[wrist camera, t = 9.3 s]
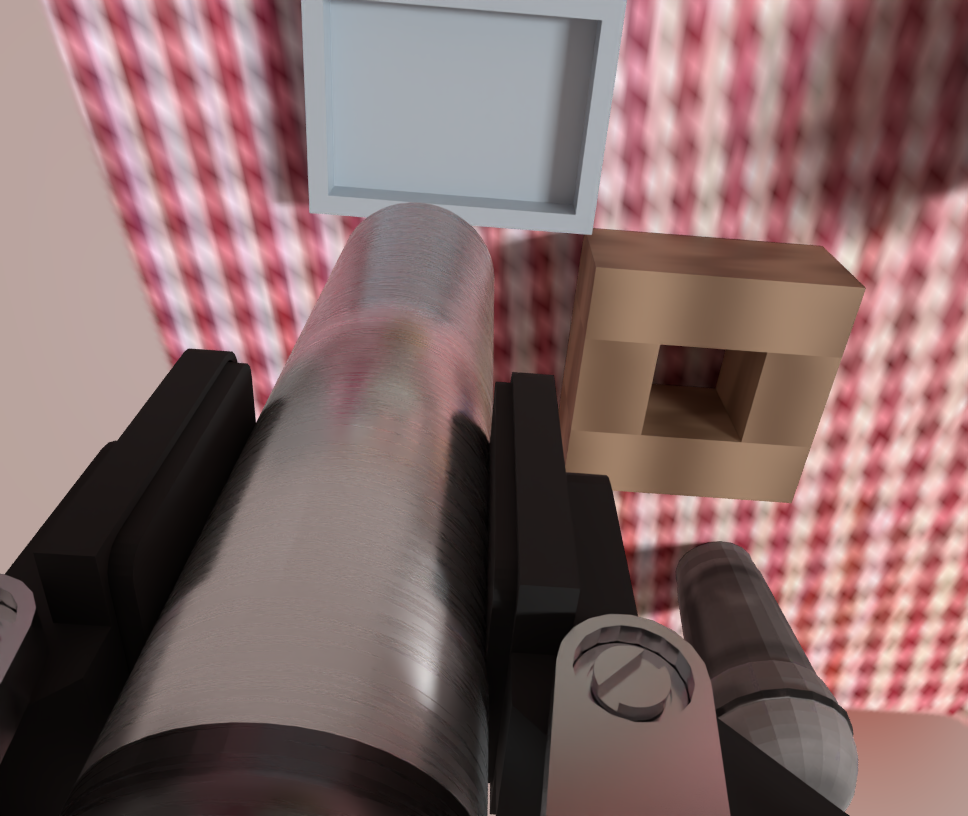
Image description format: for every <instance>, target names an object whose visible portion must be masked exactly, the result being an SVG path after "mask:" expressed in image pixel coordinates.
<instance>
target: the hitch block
mask: <svg viewBox="0 0 968 816" xmlns="http://www.w3.org/2000/svg"><path fill="white" fill-rule="evenodd" d="M865 289H866V288H865V287H864V286H863V285H862V284H861V283H860V282H859V281H858V280H857V279H856V278H855V277H854V276H853V275H852V274H851V273H850V272H849V271H848V270H847V269H846V268H845V267H844V266H843V265H842V264H841V263H839V262H838V261H837V260H836V259H835V258H834V257H833V256H832V255H831V254H830V253H829V252H828V251H827V250H826V249H825V248H824V247H823V246H813V245H800V244H787V243H775V242H762V241H749V240H736V239H723V238H711V237H698V236H685V235H672V234H660V233H647V232H634V231H621V230H608V229H596V228H593V231H592V235H587V234H584V237H583V244H582V251H581V258H580V264H579V271H578V278H577V285H576V292H575V299H574V306H573V313H572V320H571V327H570V334H569V341H568V348H567V355H566V362H565V369H564V376H563V383H562V390H561V397H560V404H559V411H558V412H559V421H560V429H561V437H562V445H563V453H564V461H565V469H566V472H571V473H585V474H599V475H607V476H608V477H609V480H610V483H611V487H612V490H613V491H627V492H642V493H656V494H670V495H684V496H699V497H713V498H727V499H741V500H755V501H770V502H784V503H792V500H793V497H794V494H795V491H796V488H797V486H798V483H799V480H800V477H801V474H802V471H803V468H804V465H805V462H806V460H807V457H808V454H809V451H810V448H811V445H812V442H813V439H814V436H815V434H816V431H817V428H818V425H819V422H820V419H821V416H822V413H823V410H824V408H825V405H826V402H827V399H828V396H829V393H830V390H831V387H832V384H833V382H834V379H835V376H836V373H837V370H838V367H839V364H840V361H841V358H842V356H843V353H844V350H845V347H846V344H847V341H848V338H849V335H850V332H851V330H852V327H853V324H854V321H855V318H856V315H857V312H858V309H859V306H860V304H861V301H862V298H863V295H864V292H865ZM660 344H661V345H675V346H688V347H702V348H715V349H726V350H725V354H724V358H723V361H722V365H721V369H720V373H719V377H718V381H717V385H716V388H704V387H691V386H677V385H664V384H652V381H653V376H654V371H655V367H656V362H657V357H658V352H659V348H660Z"/></svg>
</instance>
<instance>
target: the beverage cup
mask: <svg viewBox="0 0 968 816" xmlns="http://www.w3.org/2000/svg"><path fill="white" fill-rule="evenodd" d="M676 580H677V584H678V603H679V609H680V616H681V622H682V629H683V636H684V640H685V641H687V642H688V643H689V644H690V645H692V647H693V648H694V649H695V651H696V652H697V653H698V655H699V656H700V658H701V659H702V660H703V662H704V663H705V666H706V669H707V672H708V674H709V677H710V680H711V684H712V691H713V698H714V705H715V712H716V717H717V718H719V719H720V720H721V721H723V722H724V723H725V724H727V725H728V726H730V727H731V728H732V729H734V730H735V731H736V732H738V733H739V734H740V735H742V736H743V737H744V738H746V739H747V740H748V741H750V742H751V743H752V744H754V745H755V746H756V747H758V748H759V749H760V750H762V751H763V752H764V753H766V754H767V755H768V756H770V757H771V758H773V759H774V760H775V761H777V762H778V763H779V764H781V765H782V766H783V767H785V768H786V769H787V770H789V771H790V772H791V773H793V774H794V775H795V776H797V777H798V778H799V779H801V780H802V781H803V782H805V783H806V784H807V785H809V786H810V787H812V788H813V789H814V790H816V791H817V792H818V793H820V794H821V795H822V796H824V797H825V798H826V799H828V800H829V801H830V802H832V803H833V804H834V805H836V806H837V807H838V808H840V809H841V810H842V811H844V812H845V811H846V809H847V808H848V806H849V805H850V803H851V800H852V798H853V796H854V792H855V787H856V781H857V775H858V755H857V749H856V745H855V742H854V739H853V728H852V724H851V722H850V719H849V717H848V715H847V712H846V711H845V710H844V709H843V708H842V707H841V706H840V705H838V703H837V701H836V699H835V697H834V696H833V694H832V693H831V692H830V690H829V689H828V687H827V686H826V685H825V683H824V682H823V681H822V680H821V679H820V678H819V677H818V676H817V675H816V673H815V671H814V669H813V667H812V666H811V664H810V662H809V660H808V658H807V656H806V655H805V653H804V651H803V649H802V647H801V645H800V644H799V642H798V640H797V638H796V636H795V634H794V633H793V631H792V629H791V627H790V625H789V624H788V622H787V620H786V618H785V616H784V614H783V613H782V611H781V609H780V607H779V605H778V603H777V602H776V600H775V598H774V596H773V594H772V592H771V591H770V589H769V587H768V585H767V583H766V582H765V580H764V578H763V576H762V574H761V572H760V571H759V570H758V569H757V568H756V566H755V564H754V563H753V562H752V560H751V557H750V555H749V554H748V553H747V552H746V551H745V550H744V549H743V548H742V547H739V546H737V545H735V544H733V543H727V542H711V543H706V544H703V545H700V546H697V547H695V548H694V549H692V550H691V551H689V552H688V553H686V554H685V555H684V557H683V558H682V559H681V560H680V561H679V564H678V566H677V569H676Z"/></svg>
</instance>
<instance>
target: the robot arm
mask: <svg viewBox="0 0 968 816" xmlns="http://www.w3.org/2000/svg"><path fill="white" fill-rule="evenodd" d="M255 424H256V419H255V408H254V397H253V385H252V375H251V369H250V366H249V365H248V364H246V363H237V359H236V356H235V354H234V353H233V352H229V351H216V350H202V349H187V350H186V351H185V352H184V353H183V354H182V356H181V357H180V358H179V360H178V361H177V362H176V364H175V365H174V366H173V368H172V369H171V370H170V372H169V373H168V374H167V376H166V377H165V378H164V380H163V381H162V382H161V384H160V385H159V386H158V388H157V389H156V390H155V391H154V393H153V394H152V395H151V397H150V398H149V399H148V401H147V402H146V403H145V405H144V406H143V407H142V409H141V410H140V411H139V413H138V414H137V415H136V417H135V418H134V419H133V421H132V422H131V423H130V425H129V426H128V427H127V429H126V430H125V431H124V432H123V434H122V435H121V436H120V438H119V439H118V440H117V441H113V442H109V443H108V444H107V445H105V446H104V447H103V448H102V449H101V450H100V452H99V453H98V455H97V456H96V457H95V458H94V460H93V461H92V462H91V463H90V465H89V466H88V467H87V469H86V470H85V471H84V473H83V474H82V475H81V476H80V478H79V479H78V480H77V481H76V483H75V484H74V485H73V487H72V488H71V489H70V491H69V492H68V493H67V495H66V496H65V497H64V499H63V500H62V501H61V502H60V503H59V505H58V506H57V507H56V509H55V510H54V511H53V512H52V514H51V515H50V516H49V518H48V519H47V520H46V522H45V523H44V524H43V526H42V527H41V528H40V529H39V531H38V532H37V533H36V535H35V536H34V537H33V538H32V540H31V541H30V542H29V544H28V545H27V546H26V547H25V549H24V550H23V551H22V553H21V554H20V555H19V556H18V558H17V559H16V560H15V562H14V563H13V564H12V566H11V567H10V568H9V569H8V571H7V572H6V573H5V574H0V816H59V815H60V813H61V811H62V809H63V807H64V805H65V803H66V801H67V799H68V797H69V795H70V793H71V791H72V789H73V787H74V785H75V783H76V781H77V779H78V777H79V775H80V773H81V771H82V769H83V767H84V765H85V763H86V761H87V759H88V757H89V755H90V753H91V751H92V749H93V747H94V745H95V743H96V741H97V739H98V737H99V735H100V734H101V732H102V730H103V728H104V726H105V724H106V722H107V720H108V718H109V716H110V714H111V712H112V710H113V708H114V706H115V704H116V702H117V700H118V698H119V696H120V694H121V692H122V690H123V688H124V686H125V684H126V682H127V680H128V678H129V676H130V674H131V672H132V670H133V668H134V666H135V664H136V662H137V660H138V658H139V656H140V654H141V652H142V650H143V648H144V646H145V644H146V642H147V640H148V638H149V636H150V634H151V632H152V630H153V628H154V626H155V624H156V622H157V620H158V618H159V616H160V614H161V612H162V610H163V608H164V606H165V604H166V602H167V600H168V598H169V596H170V594H171V592H172V590H173V588H174V586H175V584H176V582H177V580H178V578H179V576H180V574H181V572H182V570H183V568H184V566H185V564H186V562H187V560H188V558H189V556H190V554H191V552H192V550H193V548H194V546H195V544H196V542H197V540H198V538H199V536H200V534H201V532H202V530H203V528H204V526H205V524H206V522H207V520H208V518H209V516H210V514H211V512H212V510H213V508H214V506H215V504H216V502H217V500H218V498H219V496H220V494H221V492H222V490H223V488H224V486H225V484H226V482H227V480H228V478H229V476H230V474H231V472H232V470H233V468H234V466H235V464H236V462H237V460H238V458H239V456H240V454H241V452H242V450H243V448H244V446H245V444H246V442H247V440H248V438H249V436H250V434H251V432H252V430H253V428H254V426H255ZM485 668H486V672H487V677H488V683H489V728H488V783H490V814H495V815H496V816H849V815H848V814H846V813H845V812H844V811H842V810H841V809H840V808H838V807H837V806H836V805H834V804H833V803H832V802H830V801H829V800H828V799H826V798H825V797H824V796H822V795H821V794H820V793H818V792H817V791H816V790H814V789H813V788H812V787H810V786H809V785H807V784H806V783H805V782H803V781H802V780H801V779H799V778H798V777H797V776H795V775H794V774H793V773H791V772H790V771H789V770H787V769H786V768H785V767H783V766H782V765H781V764H779V763H778V762H777V761H775V760H774V759H773V758H771V757H770V756H768V755H767V754H766V753H764V752H763V751H762V750H760V749H759V748H758V747H756V746H755V745H754V744H752V743H751V742H750V741H748V740H747V739H746V738H744V737H743V736H742V735H740V734H739V733H738V732H736V731H735V730H734V729H732V728H731V727H730V726H728V725H727V724H725V723H724V722H723V721H721V720H720V719H719V718H717V717H716V712H715V705H714V698H713V691H712V684H711V680H710V677H709V674H708V672H707V669H706V666H705V663H704V662H703V660H702V659H701V658H700V656H699V655H698V653H697V652H696V651H695V649H694V648H693V647H692V645H690V644H689V643H688V642H687V641H685V640H684V639H683V638H682V637H681V636H679V635H678V634H677V633H676V632H675V631H673V630H671V629H669V628H667V627H665V626H663V625H661V624H659V623H657V622H655V621H653V620H649V619H645V618H641V617H638V614H637V610H636V605H635V600H634V595H633V590H632V585H631V580H630V575H629V570H628V565H627V560H626V555H625V551H624V546H623V541H622V536H621V531H620V526H619V521H618V516H617V511H616V506H615V501H614V496H613V491H612V487H611V483H610V480H609V477H608V476H607V475H599V474H585V473H571V472H566V469H565V461H564V453H563V445H562V437H561V429H560V421H559V412H558V404H557V396H556V388H555V380H554V375H544V374H531V373H517V372H512V377H511V383H507V382H496V383H495V392H494V402H493V413H492V424H491V435H490V452H489V505H488V558H487V611H486V664H485Z"/></svg>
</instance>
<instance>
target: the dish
mask: <svg viewBox="0 0 968 816" xmlns="http://www.w3.org/2000/svg"><path fill="white" fill-rule="evenodd" d="M626 3H627V0H301V12H302V37H303V62H304V87H305V111H306V136H307V161H308V186H309V211H310V213H317V214H330V215H343V216H356V217H368V216H370V215H371V214H373V213H375V212H376V211H378V210H380V209H383V208H385V207H388V206H391V205H395V204H399V203H408V202H420V203H427V204H432V205H436V206H439V207H442V208H444V209H447V210H449V211H451V212H453V213H455V214H456V215H458V216H460V217H461V218H462V219H464V220H465V221H466V222H468V223H469V224H470V225H471V226H484V227H497V228H510V229H522V230H535V231H548V232H561V233H574V234H587V235H592V231H593V224H594V217H595V211H596V204H597V197H598V190H599V184H600V177H601V170H602V164H603V157H604V150H605V144H606V137H607V130H608V123H609V117H610V110H611V103H612V97H613V90H614V83H615V76H616V70H617V63H618V56H619V50H620V43H621V36H622V30H623V23H624V16H625V9H626Z"/></svg>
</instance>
